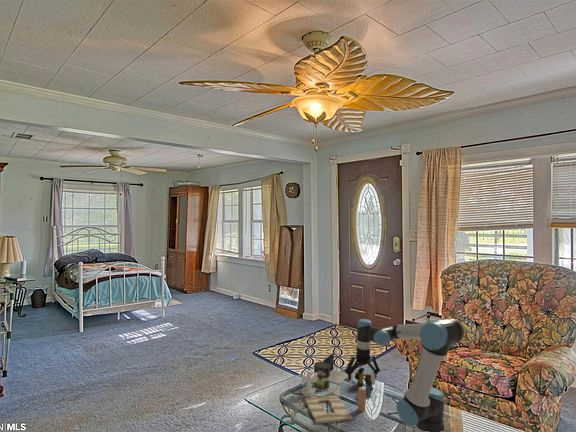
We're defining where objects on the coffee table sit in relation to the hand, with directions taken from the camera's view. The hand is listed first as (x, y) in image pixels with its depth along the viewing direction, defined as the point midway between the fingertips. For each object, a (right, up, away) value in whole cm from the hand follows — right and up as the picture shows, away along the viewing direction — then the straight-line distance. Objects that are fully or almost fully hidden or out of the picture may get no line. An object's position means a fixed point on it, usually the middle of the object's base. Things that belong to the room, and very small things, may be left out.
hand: (361, 384), depth 213 cm
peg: (0, -14, 0) cm, 14 cm away
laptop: (-9, -14, +41) cm, 44 cm away
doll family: (+6, -14, +23) cm, 28 cm away
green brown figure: (-20, -13, +26) cm, 36 cm away
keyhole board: (-19, -14, -1) cm, 24 cm away
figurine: (-29, -13, +15) cm, 35 cm away
